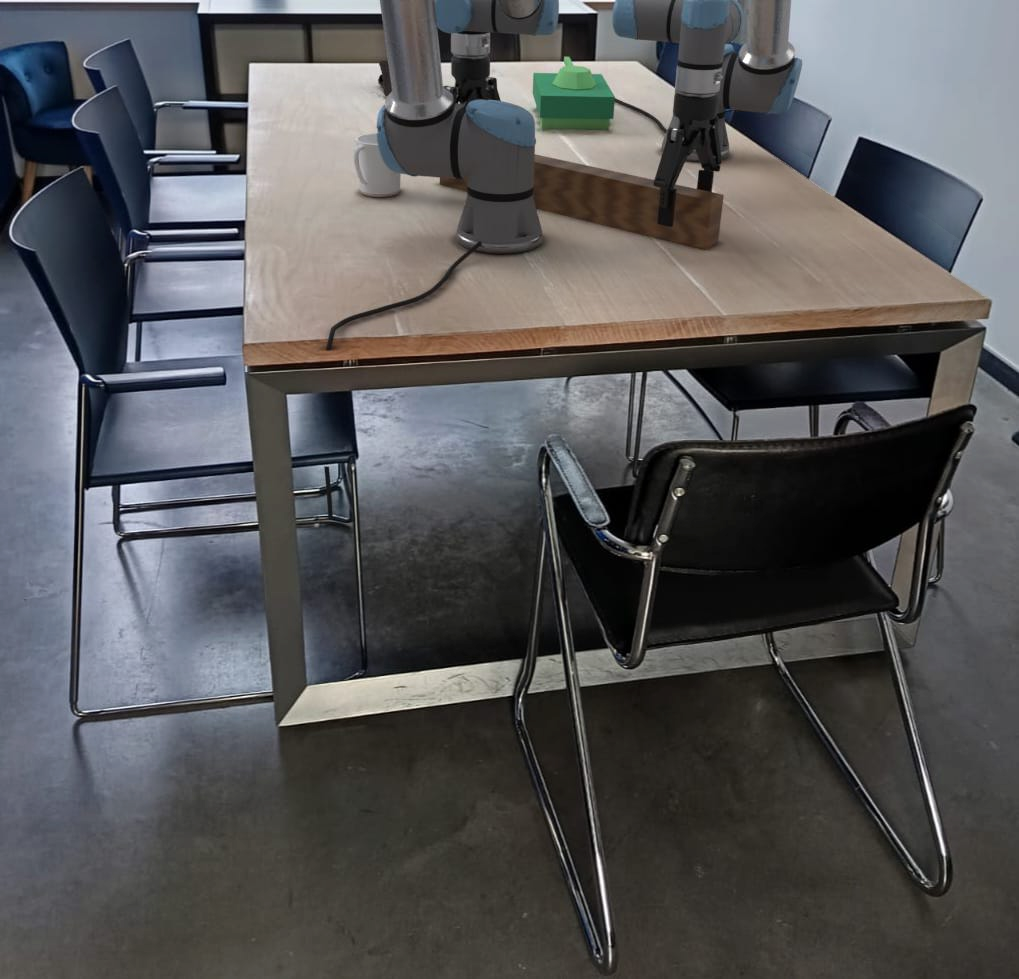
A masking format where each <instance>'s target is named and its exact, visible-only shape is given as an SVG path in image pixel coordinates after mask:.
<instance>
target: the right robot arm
mask: <svg viewBox="0 0 1019 979" xmlns="http://www.w3.org/2000/svg"><path fill="white" fill-rule="evenodd" d="M791 9H792V0H747V20H746V21H747V22H746V23H747V24H746V42H745V43H744V44H743V45H742V46H741V47H740V49H739V51H738V52H734V51H735V49H734V45H732V44H731V43H732V42H733V41H734V40H735V39H736V38H737V36H739V34H740V32H741V31H742V29H743V26H744V23H745V13H744V9H743V7H742V5H741V4H740V3H739V1H738V0H615V1H614V4H613V8H612V15H611V18H612V20H611V21H612V29H613V31H614V33H615V35H616V36H618V37H619V38H626V39H631V40H635V41H652V42H663V43H664V42H665V43H674V44H675V43H676V44H679V45H678V57H677V65H676V70H675V73H676V74H675V75H676V76H675V84H674V96H673V106H672V117H671V120H670V122H669V124H668V127H667V128H666V127H665V126H664V125H663V123H662V122H661V121H660V120H659V119H658V118H657V117H655V115H653V114H651V113H649V112H647V111H646V110H644V109H641V108H640V107H637V106H635V105H632V104H630V103H627V102H626V101H624V100H623V101H622V100H620V99H618V98H616V97H615V103H616V104H619V105H621V106H623V107H626V108H629V109H630V110H633V111H635V112H637V113H638V114H639V113H640V114H642V115H644V116H645V117H647V118H649V119H650V120H652V121H653V122H654V123H655V124H656V125H657V126H658V127H659V129H660V130H661V131H662V132H663V133H664V137H663V139H662V143H661V153H662V154H661V157H660V160H659V164H658V167H657V169H656V174H655V176H654V178H653V180H654V186H655V187H659V188H660V200H659V211H658V222H657V224H660V225H664V226H668V227H672V226H673V220H674V210H675V200H676V190H677V189H674V186H675V184H676V185H677V181H678V180H679V177H680V174H681V172H682V170H683V168H684V166H685V163H686V161H687V162H699V164H700V167H701V169H698V174H697V183H696V189H699V190H704V191H709V192H713V185H714V176H715V172H717V173H719V172H720V171H721V165H722V163H723V160H724V159H726V158H728V157H729V154H730V142H729V137H728V131H727V126H726V121H725V120H726V111H727V110H731V111H741V112H742V111H743V112H751V113H761V114H766V115H767V116H768V115H784V114H786V113H788V111H789V110H790V108H791V105H792V103H793V100H794V98H795V95H796V91H797V87H798V84H799V81H800V77H801V72H802V69H803V68H802V67H803V60H802V59H801V58H800V57H795V56H796V50H795V47H794V45H793V44H792V43H791V42H790V41H789V39H790V38H789V35H790V24H791Z"/></svg>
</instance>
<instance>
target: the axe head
mask: <svg viewBox="0 0 1019 979" xmlns="http://www.w3.org/2000/svg"><path fill="white" fill-rule="evenodd" d="M378 66H379V68H380V72H381V74H379V75H378V79H377V84H378V85H379V86H380V87H381V88H382V89H383V95H384V96H385V97H387V96H388V95H389V94H390V93H391V92H392V86H391V79H390V72H389V64H388V59H387V60H380V61H379V62H378Z"/></svg>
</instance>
